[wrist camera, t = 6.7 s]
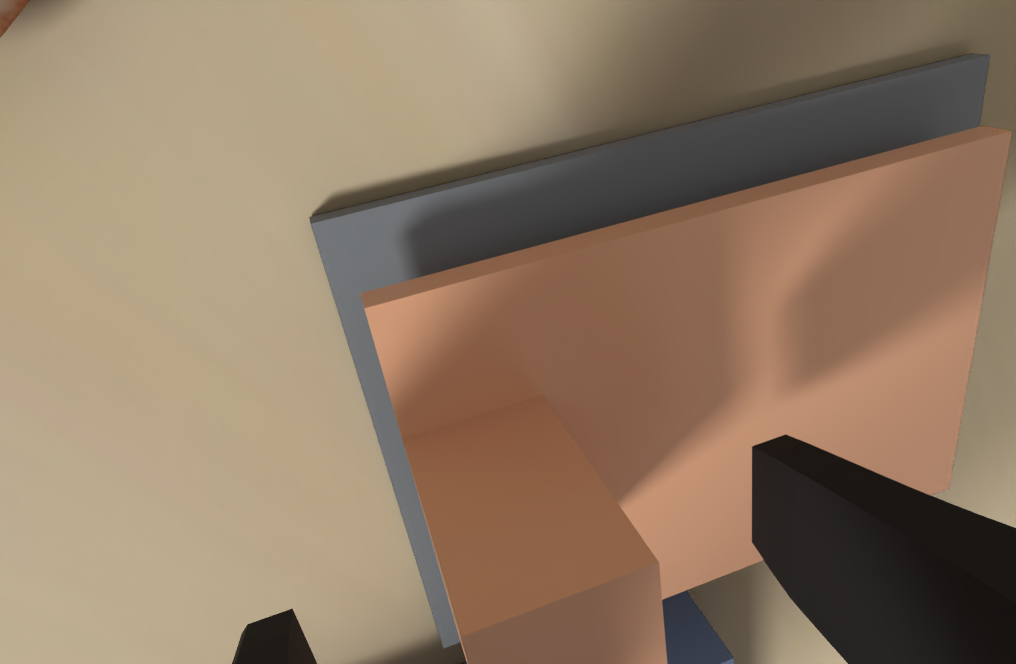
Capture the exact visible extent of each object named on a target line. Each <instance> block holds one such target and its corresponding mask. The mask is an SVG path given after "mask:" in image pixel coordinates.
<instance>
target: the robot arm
mask: <svg viewBox="0 0 1016 664" xmlns="http://www.w3.org/2000/svg"><path fill="white" fill-rule="evenodd" d="M752 543H753V545H754V546H755V548H756V549H757V551H758V552H759V553H760V555H761V556H762V558H763V559H764V561H765V562H766V564H767V565H768V567H769V568H770V570H771V571H772V573H773V574H774V576H775V577H776V578H777V580H778V581H779V583H780V584H781V585H782V587H783V588H784V590H785V591H786V592H787V594H788V595H789V597H790V598H791V599H792V600H793V602H794V603H795V604H796V605H797V606H798V607H799V609H800V610H801V611H802V612H803V613H804V614H805V615H806V617H807V618H808V619H809V620H810V621H811V622H812V623H813V625H814V626H815V627H816V628H817V629H818V630H819V631H820V633H821V634H822V635H823V636H824V637H825V638H826V639H827V640H828V642H829V643H830V644H831V645H832V646H833V647H834V648H835V649H836V651H837V652H838V653H839V654H840V655H841V656H842V657H843V658H844V660H845V661H846V662H847V663H848V664H1016V528H1014V527H1011V526H1008V525H1006V524H1003V523H1000V522H998V521H995V520H992V519H989V518H987V517H984V516H981V515H978V514H976V513H973V512H971V511H968V510H966V509H963V508H960V507H958V506H955V505H953V504H950V503H948V502H945V501H943V500H940V499H938V498H935V497H933V496H930V495H928V494H926V493H923V492H921V491H918V490H916V489H914V488H911V487H909V486H906V485H904V484H902V483H899V482H897V481H895V480H892V479H890V478H888V477H885V476H883V475H881V474H878V473H876V472H874V471H871V470H869V469H867V468H864V467H862V466H860V465H857V464H855V463H853V462H850V461H848V460H846V459H844V458H841V457H839V456H837V455H834V454H832V453H830V452H827V451H825V450H823V449H820V448H818V447H816V446H813V445H811V444H809V443H806V442H804V441H801V440H799V439H796V438H794V437H791V436H789V435H783V436H780V437H777V438H774V439H771V440H769V441H766V442H763V443H760V444H757V445H754V446H752ZM232 664H317V662H316V660H315V658H314V656H313V653H312V651H311V649H310V647H309V645H308V642H307V640H306V638H305V636H304V633H303V631H302V629H301V627H300V624H299V622H298V620H297V618H296V616H295V613H294V611H293V609H290V610H287V611H285V612H282V613H279V614H276V615H273V616H270V617H268V618H265V619H262V620H259V621H256V622H253V623H251V624H248V625H247V626H246V628H245V629H244V631H243V633H242V635H241V638H240V641H239V644H238V647H237V650H236V654H235V657H234V660H233V663H232Z"/></svg>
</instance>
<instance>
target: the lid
mask: <svg viewBox="0 0 1016 664" xmlns="http://www.w3.org/2000/svg"><path fill="white" fill-rule="evenodd" d="M1011 136H1012V131H1010V130H1004V129H998V128H992V127H986V126H980V127H976V128H972V129H968V130H965V131H961V132H957V133H954V134H950V135H946V136H942V137H939V138H935V139H931V140H928V141H924V142H920V143H916V144H913V145H909V146H905V147H902V148H898V149H894V150H890V151H887V152H883V153H879V154H876V155H872V156H868V157H864V158H861V159H857V160H853V161H850V162H846V163H842V164H839V165H835V166H831V167H827V168H824V169H820V170H816V171H813V172H809V173H805V174H801V175H798V176H794V177H790V178H787V179H783V180H779V181H775V182H772V183H768V184H764V185H761V186H757V187H753V188H749V189H746V190H742V191H738V192H735V193H731V194H727V195H723V196H720V197H716V198H712V199H709V200H705V201H701V202H697V203H694V204H690V205H686V206H683V207H679V208H675V209H671V210H668V211H664V212H660V213H657V214H653V215H649V216H645V217H642V218H638V219H634V220H631V221H627V222H623V223H619V224H616V225H612V226H608V227H605V228H601V229H597V230H593V231H590V232H586V233H582V234H579V235H575V236H571V237H567V238H564V239H560V240H556V241H553V242H549V243H545V244H541V245H538V246H534V247H530V248H527V249H523V250H519V251H515V252H512V253H508V254H504V255H501V256H497V257H493V258H489V259H486V260H482V261H478V262H475V263H471V264H467V265H463V266H460V267H456V268H452V269H449V270H445V271H441V272H437V273H434V274H430V275H426V276H423V277H419V278H415V279H412V280H408V281H404V282H400V283H397V284H393V285H389V286H386V287H382V288H378V289H374V290H371V291H367V292H363V293H360V296H361V299H362V303H363V306H364V310H365V313H366V316H367V320H368V323H369V327H370V330H371V334H372V337H373V341H374V344H375V348H376V351H377V354H378V358H379V361H380V365H381V368H382V372H383V375H384V379H385V382H386V386H387V389H388V392H389V396H390V399H391V403H392V406H393V410H394V413H395V417H396V420H397V424H398V427H399V430H400V434H401V437H402V441H403V444H404V448H405V451H406V455H407V458H408V462H409V465H410V469H411V472H412V475H413V479H414V482H415V486H416V489H417V493H418V496H419V500H420V503H421V507H422V510H423V513H424V517H425V520H426V524H427V527H428V531H429V534H430V538H431V541H432V545H433V548H434V551H435V555H436V558H437V562H438V565H439V569H440V572H441V576H442V579H443V583H444V586H445V589H446V593H447V596H448V600H449V603H450V607H451V610H452V614H453V617H454V621H455V624H456V627H457V631H458V634H459V638H460V641H461V645H462V648H463V652H464V655H465V658H466V662H467V664H667V654H666V641H665V629H664V617H663V605H662V600H663V599H665V598H668V597H671V596H673V595H676V594H678V593H681V592H684V591H686V590H689V589H691V588H694V587H696V586H699V585H702V584H704V583H707V582H709V581H712V580H714V579H717V578H720V577H722V576H725V575H727V574H730V573H732V572H735V571H738V570H740V569H743V568H745V567H748V566H750V565H753V564H756V563H758V562H761V561H763V560H764V559H763V558H762V556H761V555H760V553H759V552H758V551H757V549H756V548H755V546H754V545H753V543H752V446H754V445H757V444H760V443H763V442H766V441H769V440H771V439H774V438H777V437H780V436H783V435H789V436H791V437H794V438H796V439H799V440H801V441H804V442H806V443H809V444H811V445H813V446H816V447H818V448H820V449H823V450H825V451H827V452H830V453H832V454H834V455H837V456H839V457H841V458H844V459H846V460H848V461H850V462H853V463H855V464H857V465H860V466H862V467H864V468H867V469H869V470H871V471H874V472H876V473H878V474H881V475H883V476H885V477H888V478H890V479H892V480H895V481H897V482H899V483H902V484H904V485H906V486H909V487H911V488H914V489H916V490H918V491H921V492H923V493H926V494H928V495H930V496H931V495H933V494H936V493H938V492H941V491H943V490H946V489H949V485H950V480H951V474H952V469H953V463H954V457H955V452H956V446H957V440H958V435H959V429H960V423H961V418H962V412H963V406H964V401H965V395H966V390H967V384H968V378H969V373H970V367H971V361H972V356H973V350H974V344H975V339H976V333H977V327H978V322H979V316H980V311H981V305H982V299H983V294H984V288H985V282H986V277H987V271H988V265H989V260H990V254H991V248H992V243H993V237H994V232H995V226H996V220H997V215H998V209H999V203H1000V198H1001V192H1002V186H1003V181H1004V175H1005V169H1006V164H1007V158H1008V152H1009V147H1010V141H1011Z"/></svg>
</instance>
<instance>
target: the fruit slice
mask: <svg viewBox="0 0 1016 664" xmlns="http://www.w3.org/2000/svg"><path fill="white" fill-rule="evenodd" d="M28 1H29V0H0V37H1V36H2V35H3V34H4V32H5V31H6V30H7V29H8V27H9V26H10V25H11V23H12V22H13V21H14V20H15V18H16V17H17V16H18V14H19V13H20V12H21V10H22V9H23V8H24V6H25V5H26V4H27V3H28Z"/></svg>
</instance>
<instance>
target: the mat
mask: <svg viewBox="0 0 1016 664" xmlns="http://www.w3.org/2000/svg"><path fill="white" fill-rule="evenodd" d="M989 59H990V55H985V54H968V55H964V56H960V57H956V58H952V59H948V60H944V61H940V62H936V63H932V64H928V65H924V66H920V67H915V68H911V69H907V70H903V71H899V72H895V73H891V74H887V75H883V76H879V77H875V78H871V79H867V80H863V81H859V82H855V83H851V84H847V85H843V86H839V87H834V88H830V89H826V90H822V91H818V92H814V93H810V94H806V95H802V96H798V97H794V98H790V99H786V100H782V101H778V102H774V103H770V104H766V105H762V106H757V107H753V108H749V109H745V110H741V111H737V112H733V113H729V114H725V115H721V116H717V117H713V118H709V119H705V120H701V121H697V122H693V123H689V124H685V125H680V126H676V127H672V128H668V129H664V130H660V131H656V132H652V133H648V134H644V135H640V136H636V137H632V138H628V139H624V140H620V141H616V142H612V143H608V144H603V145H599V146H595V147H591V148H587V149H583V150H579V151H575V152H571V153H567V154H563V155H559V156H555V157H551V158H547V159H543V160H539V161H535V162H531V163H527V164H522V165H518V166H514V167H510V168H506V169H502V170H498V171H494V172H490V173H486V174H482V175H478V176H474V177H470V178H466V179H462V180H458V181H454V182H450V183H445V184H441V185H437V186H433V187H429V188H425V189H421V190H417V191H413V192H409V193H405V194H401V195H397V196H393V197H389V198H385V199H381V200H377V201H373V202H368V203H364V204H360V205H356V206H352V207H348V208H344V209H340V210H336V211H332V212H328V213H324V214H320V215H316V216H312V217H310V223H311V227H312V230H313V233H314V236H315V239H316V243H317V246H318V249H319V252H320V255H321V259H322V262H323V265H324V268H325V271H326V275H327V278H328V281H329V284H330V287H331V290H332V294H333V297H334V300H335V303H336V306H337V310H338V313H339V316H340V319H341V322H342V326H343V329H344V332H345V335H346V338H347V342H348V345H349V348H350V351H351V354H352V358H353V361H354V364H355V367H356V370H357V374H358V377H359V380H360V383H361V386H362V390H363V393H364V396H365V399H366V402H367V406H368V409H369V412H370V415H371V418H372V422H373V425H374V428H375V431H376V434H377V438H378V441H379V444H380V447H381V450H382V454H383V457H384V460H385V463H386V466H387V470H388V473H389V476H390V479H391V482H392V486H393V489H394V492H395V495H396V498H397V501H398V505H399V508H400V511H401V514H402V517H403V521H404V524H405V527H406V530H407V533H408V537H409V540H410V543H411V546H412V549H413V553H414V556H415V559H416V562H417V565H418V569H419V572H420V575H421V578H422V581H423V585H424V588H425V591H426V594H427V597H428V601H429V604H430V607H431V610H432V613H433V617H434V620H435V623H436V626H437V629H438V633H439V636H440V639H441V642H442V645H443V649H444V648H447V647H449V646H452V645H455V644H457V643H460V642H461V641H460V638H459V634H458V631H457V627H456V624H455V621H454V617H453V614H452V610H451V607H450V603H449V600H448V596H447V593H446V589H445V586H444V583H443V579H442V576H441V572H440V569H439V565H438V562H437V558H436V555H435V551H434V548H433V545H432V541H431V538H430V534H429V531H428V527H427V524H426V520H425V517H424V513H423V510H422V507H421V503H420V500H419V496H418V493H417V489H416V486H415V482H414V479H413V475H412V472H411V469H410V465H409V462H408V458H407V455H406V451H405V448H404V444H403V441H402V437H401V434H400V430H399V427H398V424H397V420H396V417H395V413H394V410H393V406H392V403H391V399H390V396H389V392H388V389H387V386H386V382H385V379H384V375H383V372H382V368H381V365H380V361H379V358H378V354H377V351H376V348H375V344H374V341H373V337H372V334H371V330H370V327H369V323H368V320H367V316H366V313H365V310H364V306H363V303H362V299H361V296H360V293H363V292H367V291H371V290H374V289H378V288H382V287H386V286H389V285H393V284H397V283H400V282H404V281H408V280H412V279H415V278H419V277H423V276H426V275H430V274H434V273H437V272H441V271H445V270H449V269H452V268H456V267H460V266H463V265H467V264H471V263H475V262H478V261H482V260H486V259H489V258H493V257H497V256H501V255H504V254H508V253H512V252H515V251H519V250H523V249H527V248H530V247H534V246H538V245H541V244H545V243H549V242H553V241H556V240H560V239H564V238H567V237H571V236H575V235H579V234H582V233H586V232H590V231H593V230H597V229H601V228H605V227H608V226H612V225H616V224H619V223H623V222H627V221H631V220H634V219H638V218H642V217H645V216H649V215H653V214H657V213H660V212H664V211H668V210H671V209H675V208H679V207H683V206H686V205H690V204H694V203H697V202H701V201H705V200H709V199H712V198H716V197H720V196H723V195H727V194H731V193H735V192H738V191H742V190H746V189H749V188H753V187H757V186H761V185H764V184H768V183H772V182H775V181H779V180H783V179H787V178H790V177H794V176H798V175H801V174H805V173H809V172H813V171H816V170H820V169H824V168H827V167H831V166H835V165H839V164H842V163H846V162H850V161H853V160H857V159H861V158H864V157H868V156H872V155H876V154H879V153H883V152H887V151H890V150H894V149H898V148H902V147H905V146H909V145H913V144H916V143H920V142H924V141H928V140H931V139H935V138H939V137H942V136H946V135H950V134H954V133H957V132H961V131H965V130H968V129H972V128H976V127H979V125H980V118H981V111H982V105H983V98H984V92H985V85H986V79H987V72H988V66H989Z"/></svg>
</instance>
